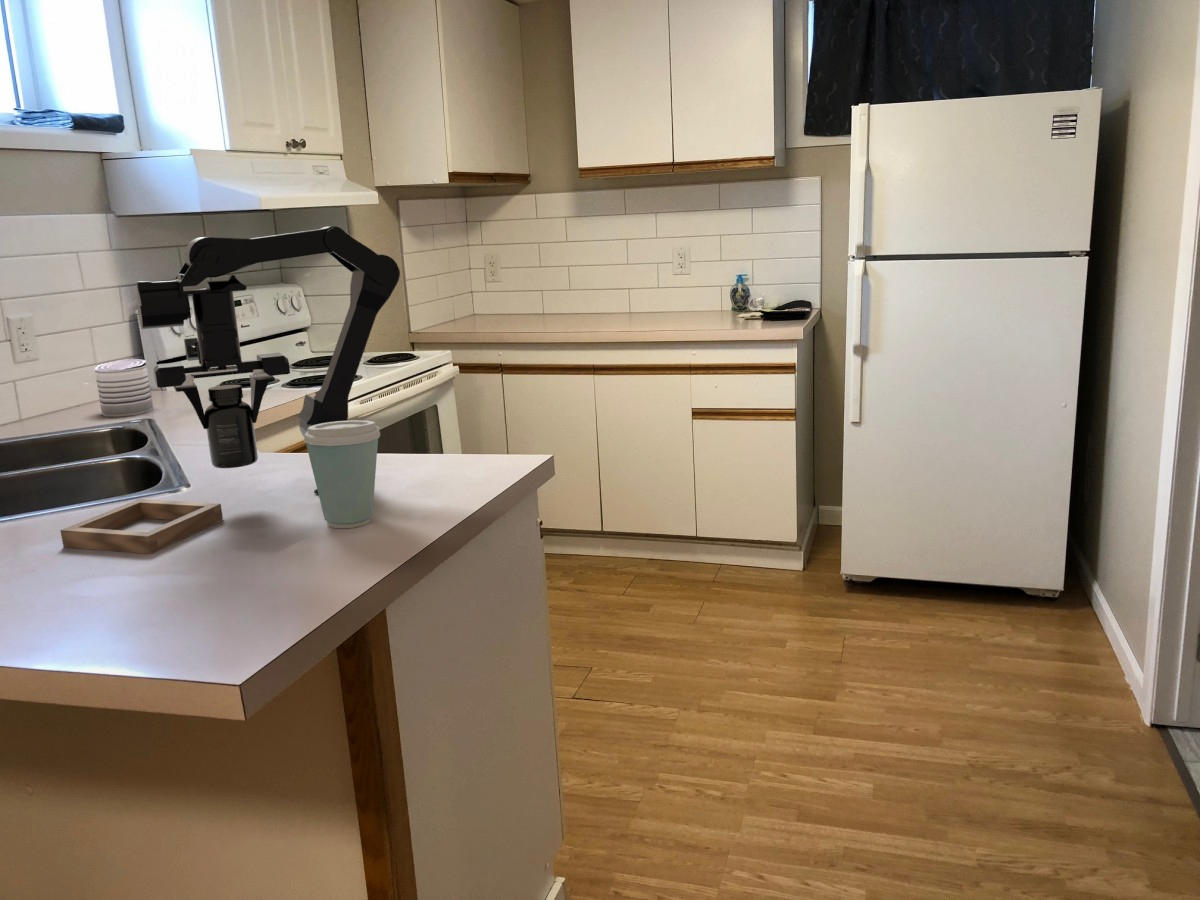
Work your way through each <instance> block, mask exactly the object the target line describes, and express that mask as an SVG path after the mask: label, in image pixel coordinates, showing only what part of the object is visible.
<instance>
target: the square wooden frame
mask: <svg viewBox="0 0 1200 900" xmlns="http://www.w3.org/2000/svg"><path fill="white" fill-rule="evenodd" d="M141 519H151V520H154V519H155V520H167V521H168V520H169V522H167V523H165V524H162V525H160V526H158V527H156V528H154V529H151V530H149V531H136V530H122V529H121V530H120V529H119V528H122V527H124V526H127V525H130V524H131V523H134V522H136V521H138V520H141ZM222 519H223V520H224V516H223V510H222V504H221V503H214V502H213V503H211V502H197V501H195V502H194V501H180V500H177V501H176V500H162V499H161V500H160V499H146V498H145V499H142V498H139V499H135V500H133V501H131V502H127V503H126V504H123V505H121V506H118V507H116V508H115V507H114V508H112V509H110V510H108V511H105V512H103V513H100V514H98V515H95V516H93V517H90V518H87V519H85V520H82V521H80V522H78V523H75V524H72V525H69V526H67V527H64V528H63V529H60V530H59V531H60V535H61V541H62V546H63V548H70V549H84V550H85V549H86V550H97V551H99V550H100V551H111V552H123V553H136V554H149V555H150V554H153V553H155V552H158V551H159V550H162V549H164V548H166V547H168V546H170V545H173V544H175V543H177V542H179V541H180V540H181V541H182V540H184V539H185V538H187V537H190V536H191V535H193V534H195V533H198V532H200V531H202V530H204V529H206V528H209V527H210V525H211V526H213V525H215V524H216V522H217V523H219V522H222V521H223V520H222ZM218 521H219V522H218ZM214 523H215V524H214ZM212 524H213V525H212ZM208 526H209V527H208Z"/></svg>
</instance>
